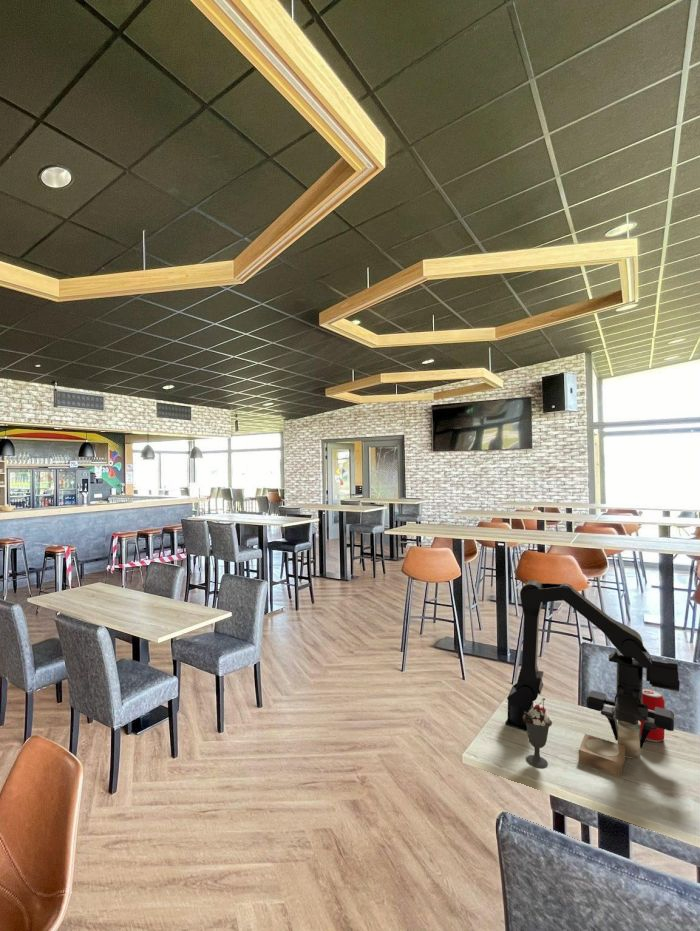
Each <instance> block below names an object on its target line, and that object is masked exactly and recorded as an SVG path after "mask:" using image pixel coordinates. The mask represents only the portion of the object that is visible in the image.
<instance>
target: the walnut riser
mask: <svg viewBox="0 0 700 931" xmlns="http://www.w3.org/2000/svg"><path fill="white" fill-rule="evenodd" d="M625 760H626V756H625V746H624V745H620V744H617V742H614V741H610V740H607V739H604V738H601V737H597V736H594V735H592V734H588V733H584V735H583V738H582V740H581V743H580V746H579V748H578V763H580V764H583V765H586V766H588V767H591V768H595V769H597V770H601V771H604V772H607V773H609V774H612V775H615V776H618V777H620V778H621V777H622V775H623V770H624V764H625Z"/></svg>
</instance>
